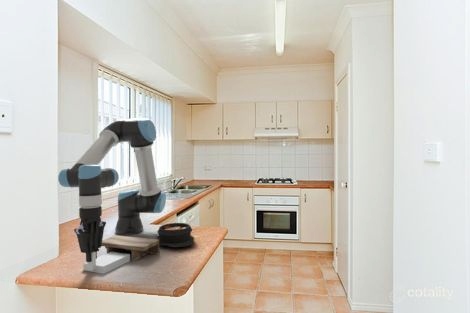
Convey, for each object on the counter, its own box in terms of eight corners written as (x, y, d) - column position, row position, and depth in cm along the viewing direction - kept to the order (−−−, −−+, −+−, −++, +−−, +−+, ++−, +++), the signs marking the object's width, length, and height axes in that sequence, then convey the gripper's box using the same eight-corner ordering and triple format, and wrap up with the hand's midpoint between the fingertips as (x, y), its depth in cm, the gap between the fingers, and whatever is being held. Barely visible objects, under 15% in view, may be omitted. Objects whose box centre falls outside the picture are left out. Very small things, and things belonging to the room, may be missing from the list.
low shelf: (115, 248, 139) (115, 235, 139) (159, 253, 131) (159, 239, 131) (97, 255, 128) (97, 242, 128) (143, 261, 120) (143, 247, 120)
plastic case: (111, 258, 126) (111, 251, 126) (130, 261, 122) (129, 254, 122) (83, 271, 113) (83, 263, 113) (103, 274, 109) (103, 266, 109)
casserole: (148, 240, 151) (148, 223, 151) (182, 234, 161) (182, 219, 161) (165, 254, 130) (165, 235, 130) (203, 246, 140) (203, 228, 140)
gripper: (96, 203, 117) (97, 262, 118) (67, 209, 105) (69, 275, 105) (111, 203, 115) (112, 264, 115) (84, 210, 102) (85, 277, 103)
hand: (91, 269), depth 110 cm, fingers closed
